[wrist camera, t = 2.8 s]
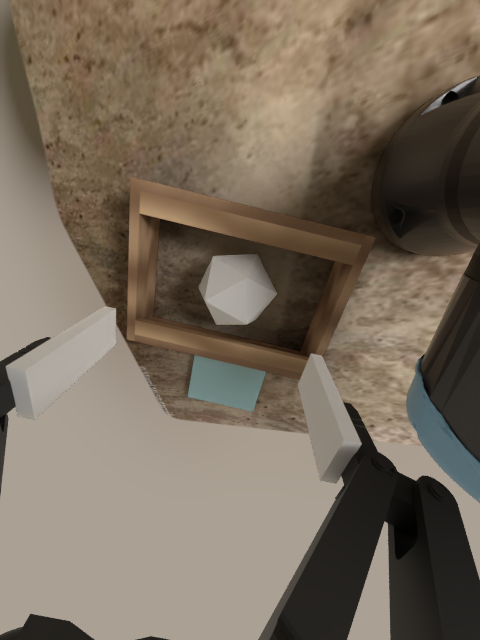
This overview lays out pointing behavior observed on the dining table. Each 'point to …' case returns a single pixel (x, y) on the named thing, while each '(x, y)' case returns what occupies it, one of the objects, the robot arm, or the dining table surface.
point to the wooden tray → (247, 224)
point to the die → (236, 289)
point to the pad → (225, 383)
